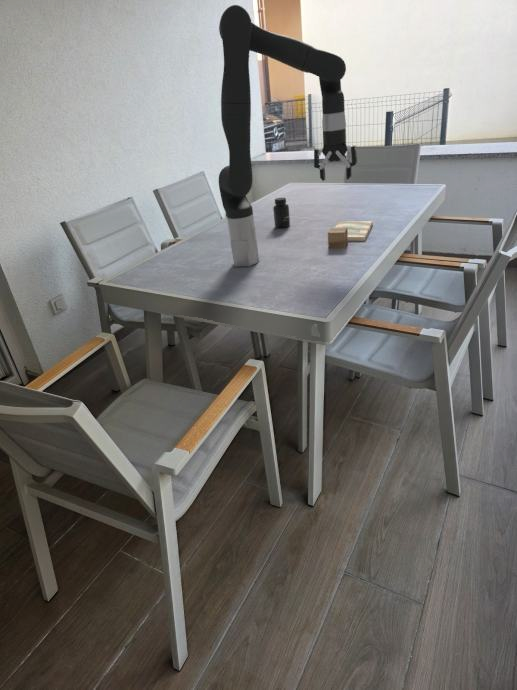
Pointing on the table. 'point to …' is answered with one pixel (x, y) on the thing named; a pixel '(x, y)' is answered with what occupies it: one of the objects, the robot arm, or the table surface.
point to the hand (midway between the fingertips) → (335, 179)
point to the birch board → (356, 229)
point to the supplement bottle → (281, 213)
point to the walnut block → (338, 237)
